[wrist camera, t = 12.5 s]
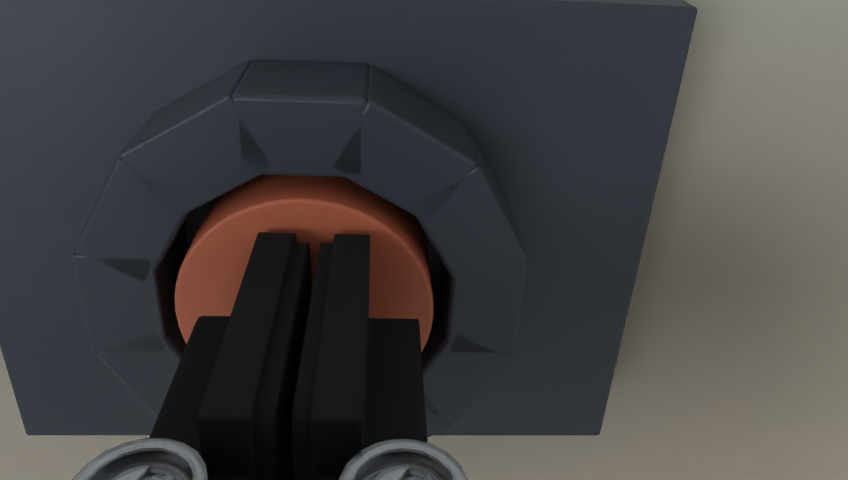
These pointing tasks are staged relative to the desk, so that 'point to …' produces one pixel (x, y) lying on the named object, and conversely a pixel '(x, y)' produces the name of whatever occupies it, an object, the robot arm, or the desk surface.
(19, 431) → the desk surface
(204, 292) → the button
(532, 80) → the button box
